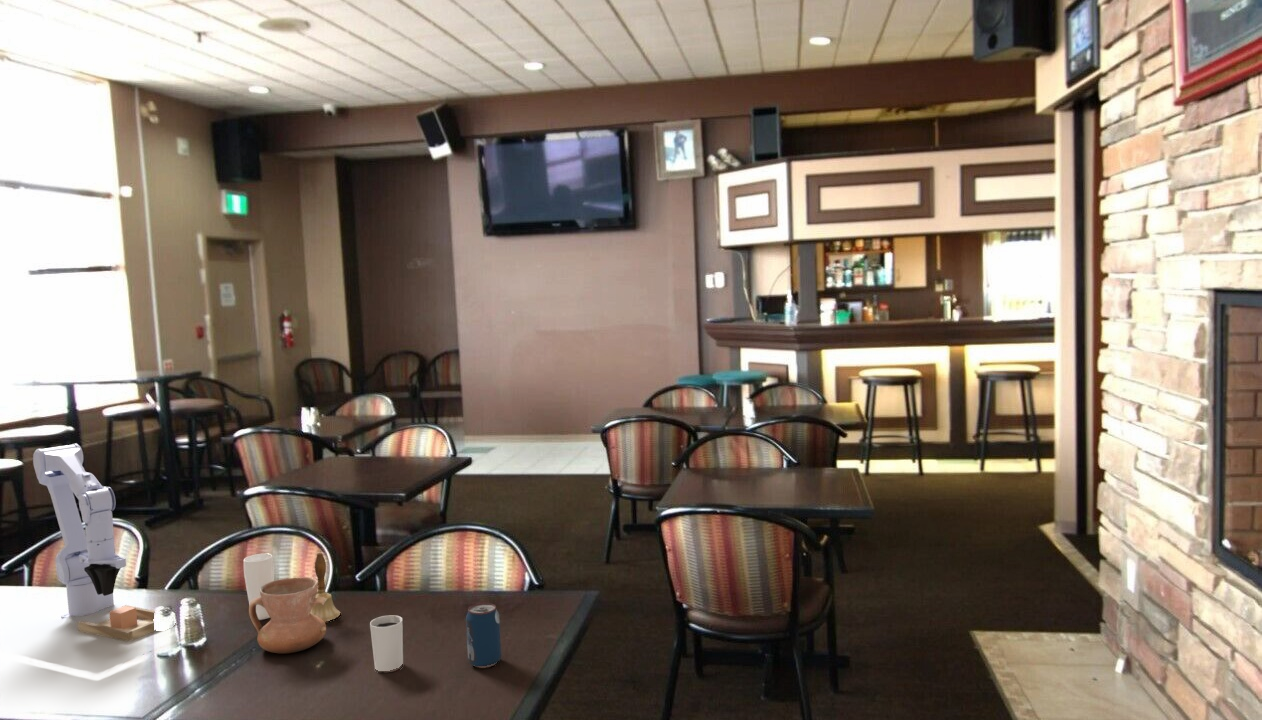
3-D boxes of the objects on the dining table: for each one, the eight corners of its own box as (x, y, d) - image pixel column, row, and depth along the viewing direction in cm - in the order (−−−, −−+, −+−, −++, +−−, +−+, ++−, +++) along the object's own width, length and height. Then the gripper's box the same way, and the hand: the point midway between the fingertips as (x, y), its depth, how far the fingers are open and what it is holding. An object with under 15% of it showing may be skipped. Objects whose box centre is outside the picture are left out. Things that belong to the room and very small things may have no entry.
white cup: (376, 677, 181) (373, 629, 180) (369, 665, 187) (366, 619, 186) (408, 669, 184) (405, 623, 183) (401, 658, 190) (398, 613, 189)
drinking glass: (266, 622, 213) (262, 562, 212) (241, 621, 215) (237, 561, 213) (282, 612, 220) (278, 553, 219) (258, 611, 221) (254, 552, 220)
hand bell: (310, 612, 219) (306, 549, 218) (344, 610, 220) (340, 547, 219) (301, 625, 211) (296, 560, 210) (336, 622, 212) (332, 558, 210)
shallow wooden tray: (126, 617, 220) (125, 605, 220) (175, 627, 212) (174, 614, 212) (79, 635, 209) (78, 622, 209) (129, 646, 202) (128, 632, 201)
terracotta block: (126, 621, 214) (125, 605, 214) (137, 623, 212) (136, 607, 212) (110, 627, 210) (109, 611, 210) (121, 630, 209) (120, 613, 208)
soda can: (507, 658, 188) (504, 603, 187) (491, 671, 181) (488, 615, 180) (478, 654, 190) (475, 600, 189) (462, 668, 184) (459, 612, 183)
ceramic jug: (343, 633, 205) (339, 574, 203) (313, 660, 190) (308, 596, 189) (270, 633, 207) (265, 574, 206) (235, 659, 192) (230, 596, 191)
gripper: (64, 540, 212) (69, 595, 213) (103, 546, 205) (108, 602, 207) (93, 532, 218) (98, 586, 219) (132, 538, 212) (136, 593, 213)
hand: (105, 593), depth 213 cm, fingers closed
